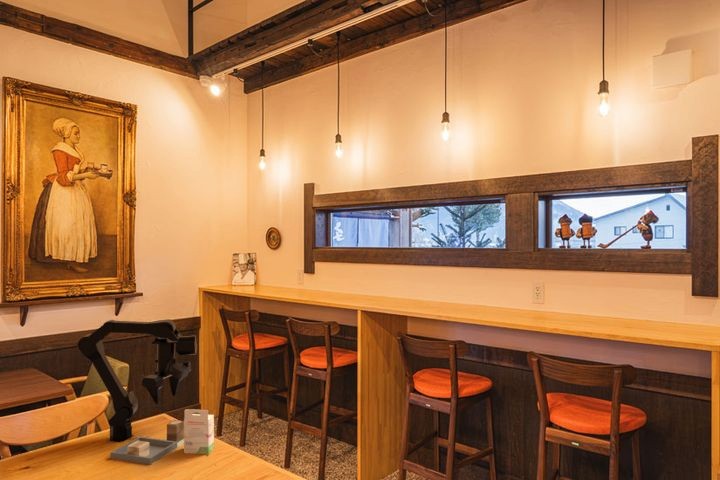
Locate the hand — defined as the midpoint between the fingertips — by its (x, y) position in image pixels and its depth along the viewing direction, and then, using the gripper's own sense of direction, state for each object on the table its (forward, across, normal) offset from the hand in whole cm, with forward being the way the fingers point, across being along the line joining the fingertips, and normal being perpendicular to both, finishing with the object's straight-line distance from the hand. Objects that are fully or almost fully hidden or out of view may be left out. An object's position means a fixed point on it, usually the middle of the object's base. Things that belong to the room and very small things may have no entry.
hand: (165, 399), depth 173 cm
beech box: (+12, -17, -4) cm, 22 cm away
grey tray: (+13, -14, -4) cm, 20 cm away
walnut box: (+12, -3, -6) cm, 14 cm away
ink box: (+13, -8, -19) cm, 24 cm away
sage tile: (+13, -3, -6) cm, 15 cm away
